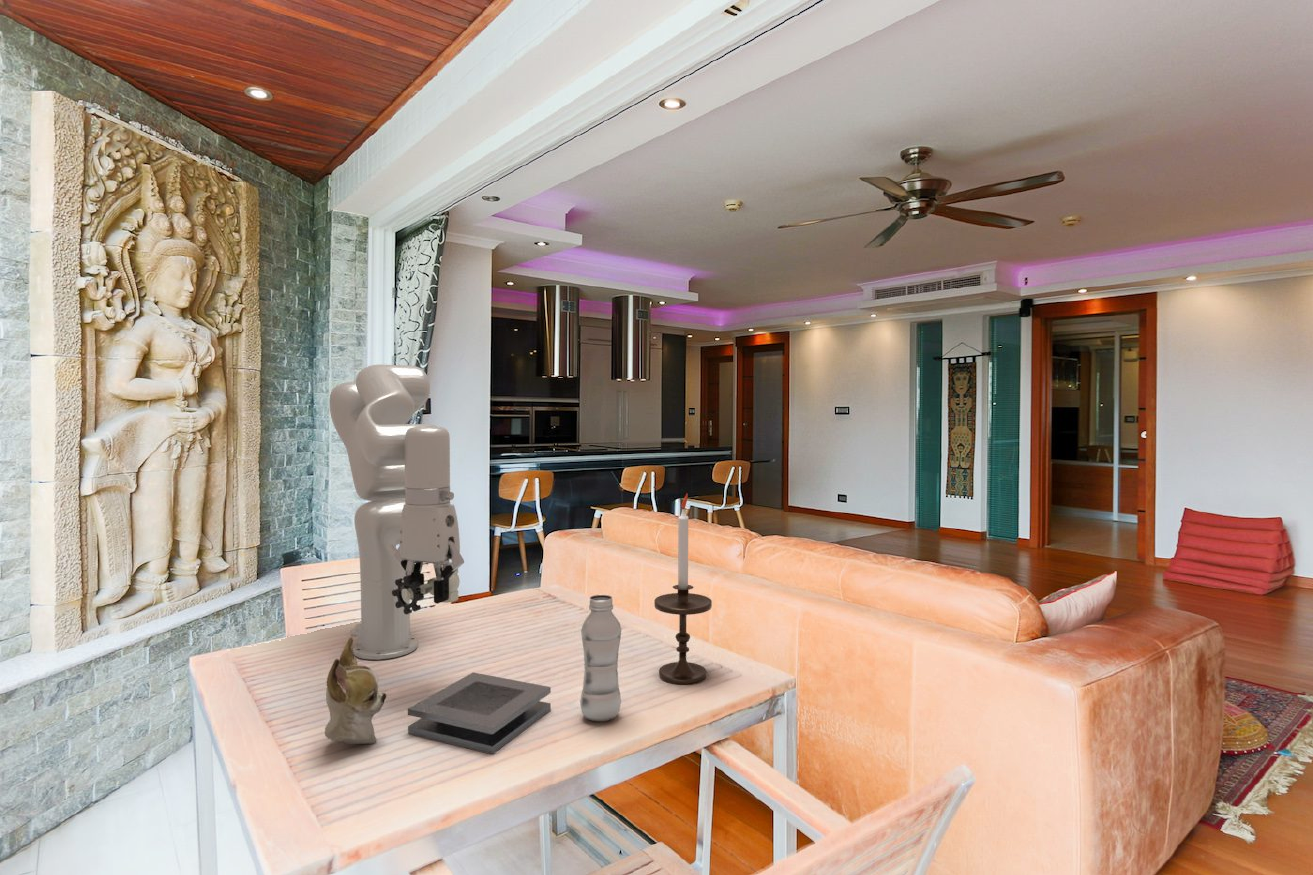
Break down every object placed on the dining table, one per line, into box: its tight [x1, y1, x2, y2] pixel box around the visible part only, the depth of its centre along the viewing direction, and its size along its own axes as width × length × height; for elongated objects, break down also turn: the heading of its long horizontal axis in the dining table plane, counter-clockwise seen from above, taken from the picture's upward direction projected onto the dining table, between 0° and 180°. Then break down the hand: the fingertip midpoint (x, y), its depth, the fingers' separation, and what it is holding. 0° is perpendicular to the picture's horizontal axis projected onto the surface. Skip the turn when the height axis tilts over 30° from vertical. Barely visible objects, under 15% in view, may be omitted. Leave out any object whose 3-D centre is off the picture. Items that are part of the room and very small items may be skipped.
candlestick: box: [653, 493, 713, 686], centre depth 130 cm, size 11×11×35 cm
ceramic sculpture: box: [324, 636, 387, 745], centre depth 104 cm, size 11×9×15 cm
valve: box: [392, 561, 461, 615], centre depth 122 cm, size 7×7×12 cm
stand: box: [407, 671, 552, 755], centre depth 112 cm, size 16×16×4 cm
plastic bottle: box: [579, 594, 622, 722], centre depth 113 cm, size 6×7×20 cm
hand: (428, 598), depth 122 cm, fingers closed on valve, 4 cm apart
